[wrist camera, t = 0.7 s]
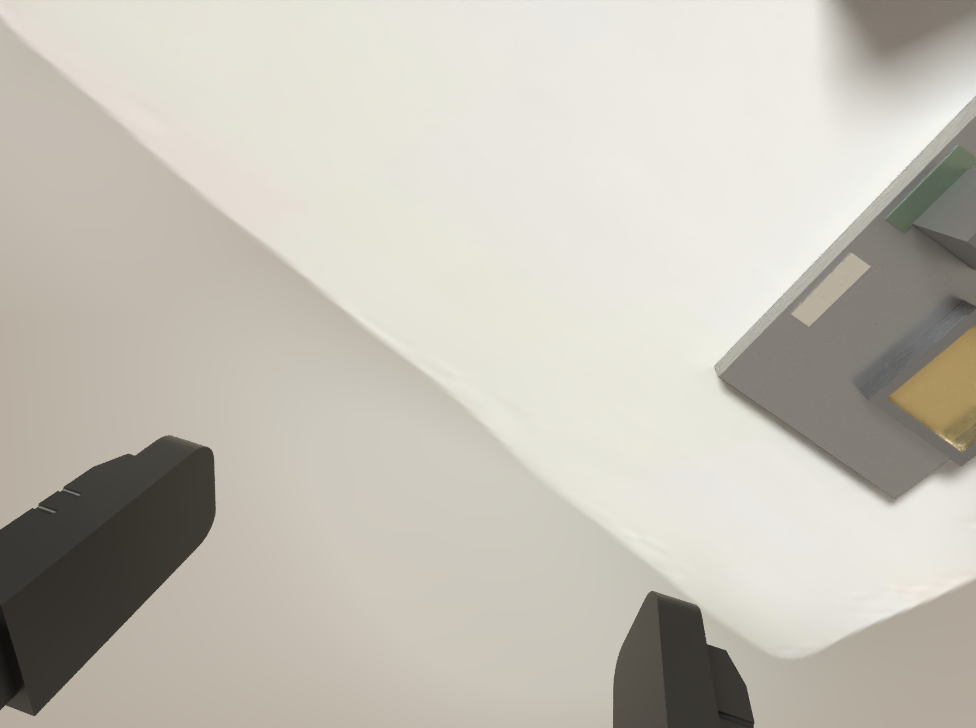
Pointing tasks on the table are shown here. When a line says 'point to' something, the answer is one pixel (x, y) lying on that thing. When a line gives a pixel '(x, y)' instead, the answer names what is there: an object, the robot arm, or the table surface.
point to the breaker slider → (954, 219)
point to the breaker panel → (878, 335)
